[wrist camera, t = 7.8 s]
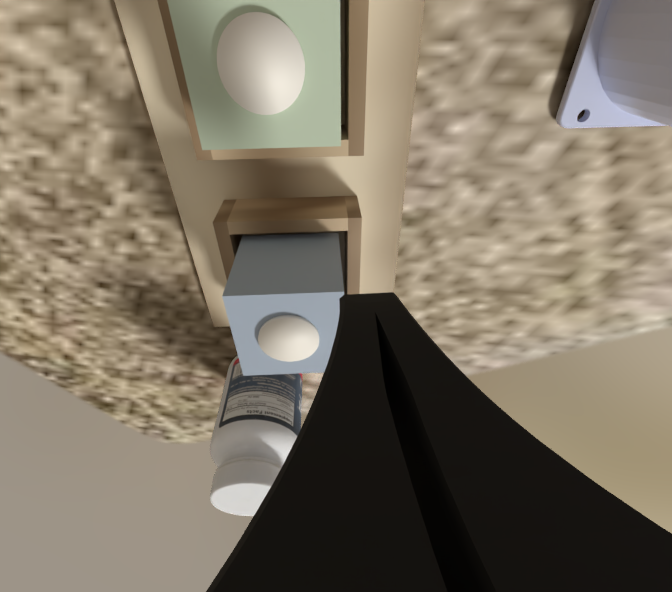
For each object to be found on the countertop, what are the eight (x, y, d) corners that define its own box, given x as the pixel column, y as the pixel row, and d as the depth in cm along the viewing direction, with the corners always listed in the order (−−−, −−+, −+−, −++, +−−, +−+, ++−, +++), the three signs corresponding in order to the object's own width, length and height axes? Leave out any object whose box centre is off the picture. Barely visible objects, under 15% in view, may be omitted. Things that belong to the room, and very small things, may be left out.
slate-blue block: (338, 232, 17) (344, 295, 13) (339, 306, 19) (344, 375, 16) (242, 235, 16) (220, 299, 13) (256, 309, 19) (242, 379, 15)
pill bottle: (283, 400, 28) (272, 527, 21) (218, 380, 26) (183, 512, 19) (315, 359, 25) (315, 490, 18) (246, 334, 24) (216, 469, 17)
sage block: (333, -26, 12) (340, -43, 9) (335, 115, 15) (341, 148, 11) (203, -24, 12) (154, -41, 8) (229, 118, 15) (200, 152, 11)
